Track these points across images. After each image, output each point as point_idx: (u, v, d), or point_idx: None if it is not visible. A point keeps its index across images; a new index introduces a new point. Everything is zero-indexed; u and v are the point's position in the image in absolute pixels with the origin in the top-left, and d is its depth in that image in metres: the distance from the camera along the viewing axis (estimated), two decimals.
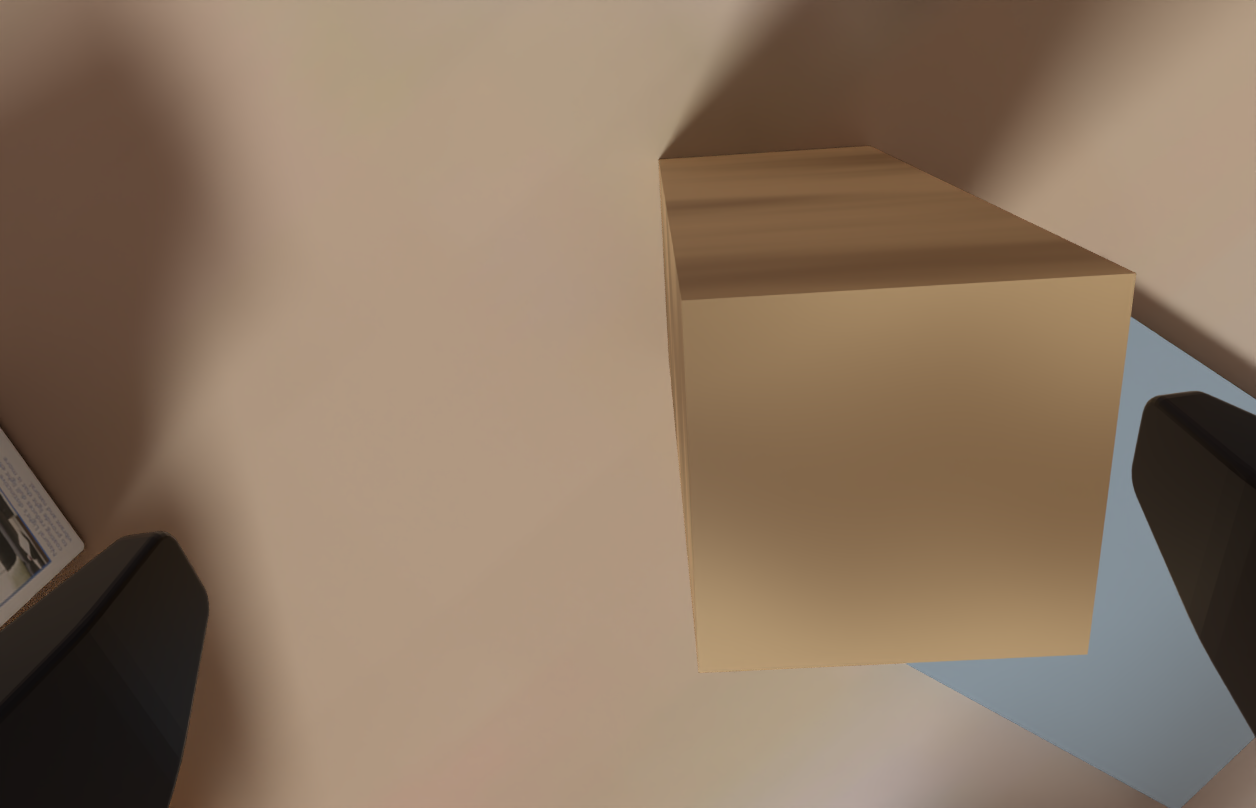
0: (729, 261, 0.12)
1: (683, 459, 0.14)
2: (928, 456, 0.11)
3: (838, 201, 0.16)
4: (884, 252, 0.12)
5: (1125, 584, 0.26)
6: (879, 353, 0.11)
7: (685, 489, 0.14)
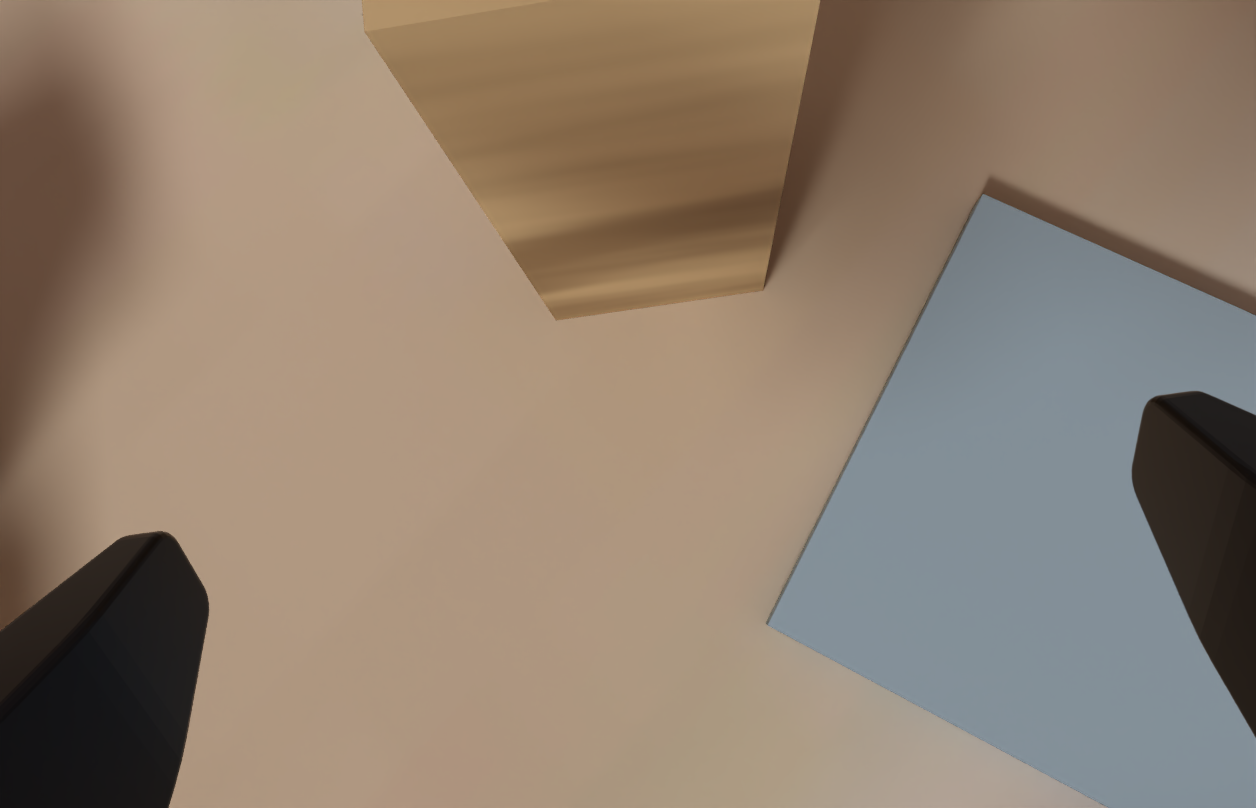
0: None
1: None
2: None
3: None
4: None
5: (1142, 548, 0.21)
6: None
7: None
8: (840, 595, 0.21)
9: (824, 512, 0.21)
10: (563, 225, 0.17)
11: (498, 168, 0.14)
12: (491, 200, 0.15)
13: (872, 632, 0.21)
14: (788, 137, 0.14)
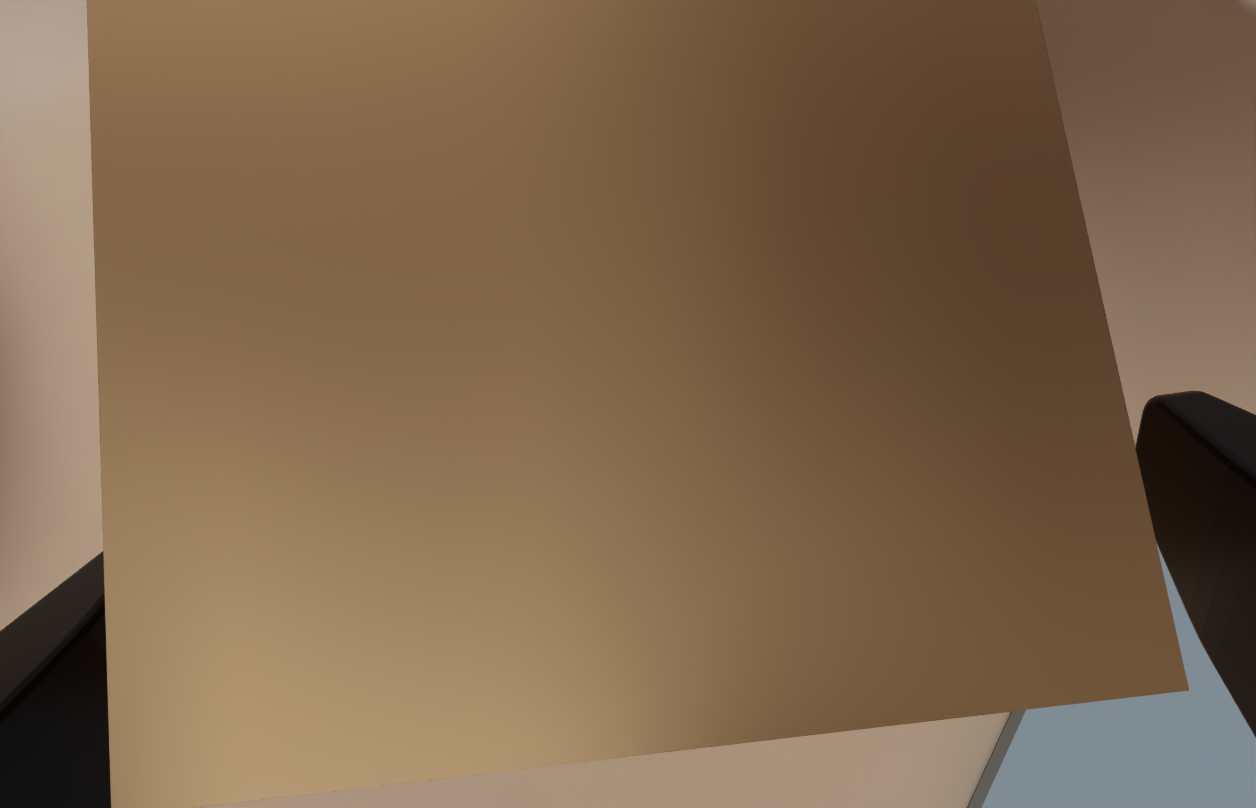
0: None
1: None
2: (624, 151, 0.05)
3: None
4: None
5: None
6: None
7: None
8: None
9: None
10: None
11: None
12: None
13: None
14: None
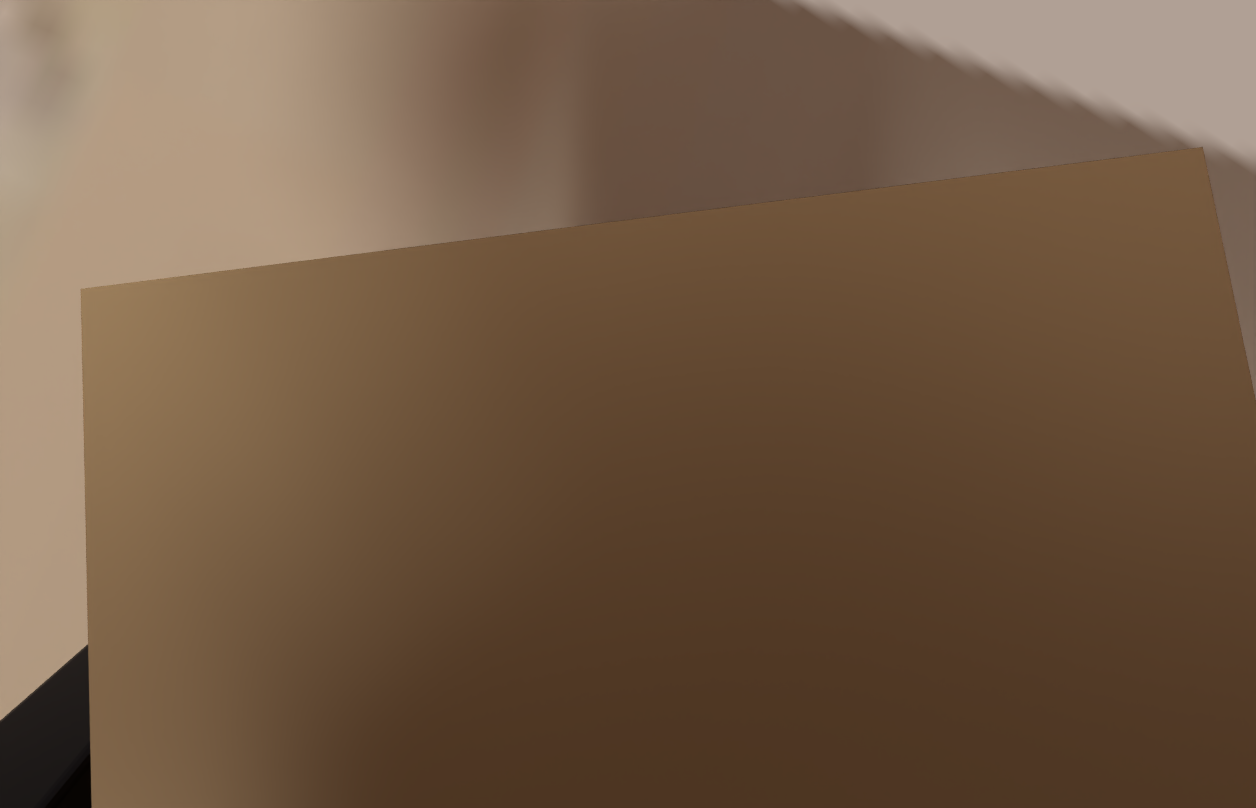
0: None
1: None
2: (760, 695, 0.04)
3: None
4: None
5: None
6: (579, 397, 0.04)
7: None
8: None
9: None
10: None
11: None
12: None
13: None
14: None
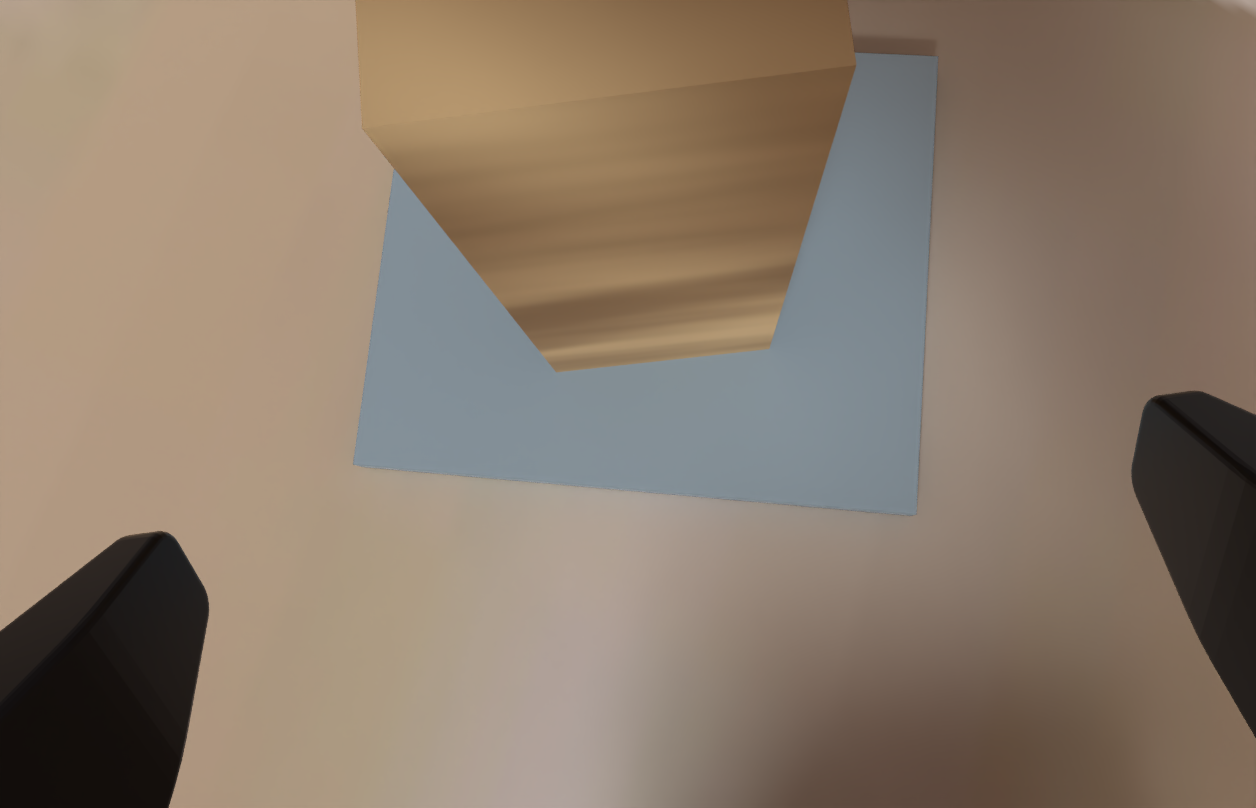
0: None
1: None
2: None
3: None
4: None
5: None
6: None
7: None
8: (406, 413, 0.23)
9: (370, 349, 0.23)
10: (566, 294, 0.16)
11: (501, 245, 0.14)
12: (493, 272, 0.15)
13: (443, 432, 0.23)
14: (803, 222, 0.14)
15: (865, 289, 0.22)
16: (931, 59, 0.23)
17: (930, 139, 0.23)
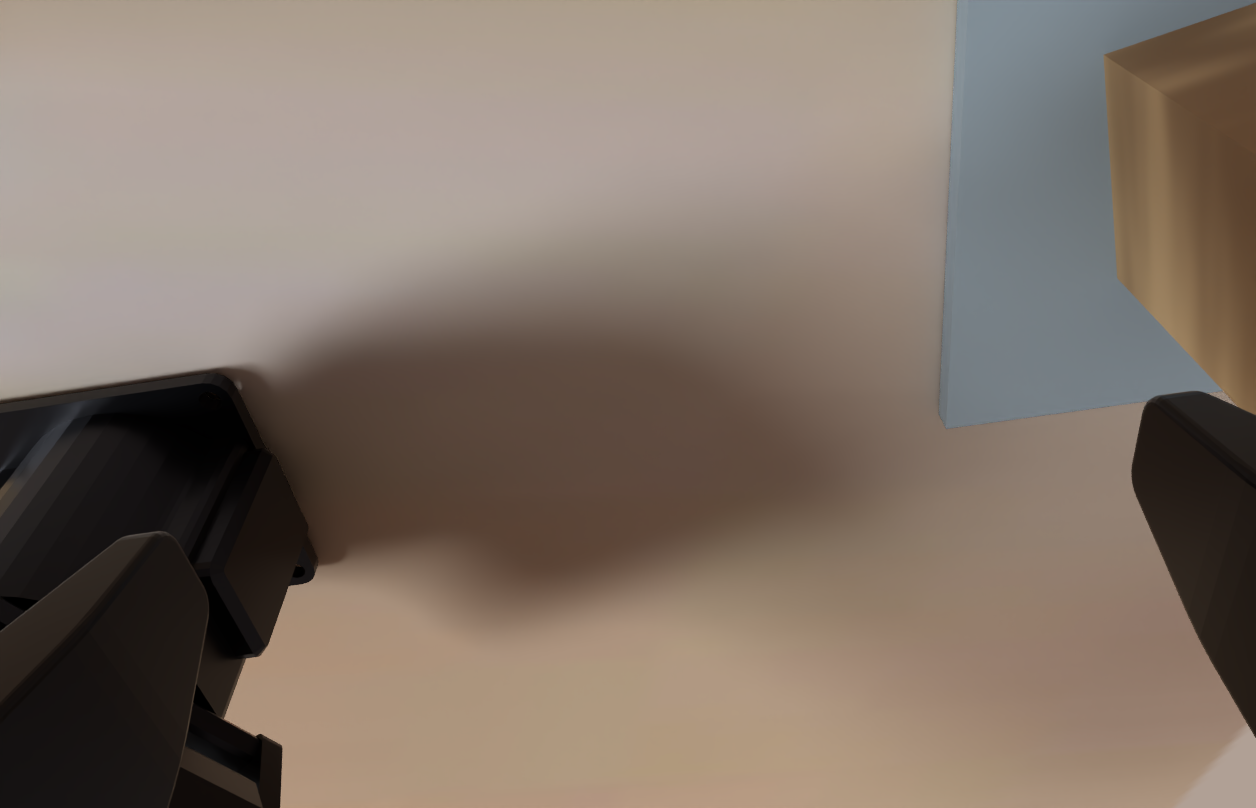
0: None
1: None
2: None
3: None
4: None
5: None
6: None
7: None
8: None
9: None
10: None
11: None
12: None
13: None
14: None
15: (1175, 349, 0.22)
16: None
17: None
